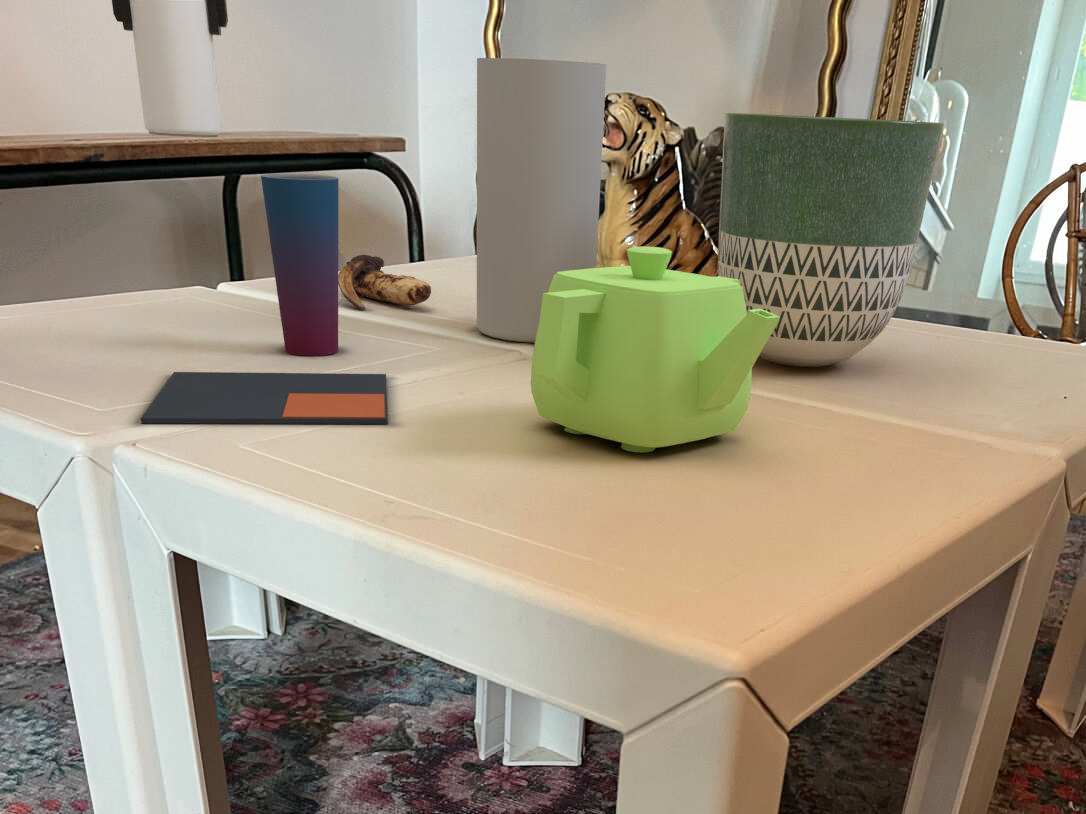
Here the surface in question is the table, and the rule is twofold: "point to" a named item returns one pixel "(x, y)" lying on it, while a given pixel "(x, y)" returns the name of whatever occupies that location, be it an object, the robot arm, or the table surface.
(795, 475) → the table surface
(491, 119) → the cylinder vase
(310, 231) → the cup
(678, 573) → the table surface
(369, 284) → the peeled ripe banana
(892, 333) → the table surface
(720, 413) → the teapot
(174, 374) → the mat
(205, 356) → the table surface
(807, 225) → the planter
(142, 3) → the can
